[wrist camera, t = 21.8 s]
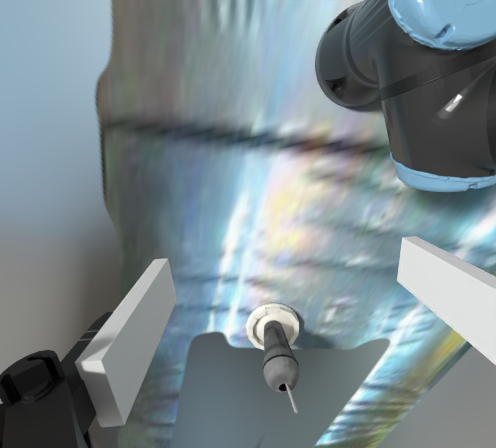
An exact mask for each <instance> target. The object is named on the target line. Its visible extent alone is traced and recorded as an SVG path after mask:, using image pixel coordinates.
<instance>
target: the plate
mask: <svg viewBox="0 0 496 448" xmlns="http://www.w3.org/2000/svg"><path fill="white" fill-rule="evenodd" d="M271 320H276V321H279V322H280V323H281V325H282V327H283V329H284V332H285V335H286V337H287V340H288V343H289V345H292V344H293V342H294V341H295V339H296V338H297V336H298V335H299V321H298V318H297V315H296V313H295V312H294V311H293V310H292V309H291V308H290V307H288V306H286V305H284V304H280V303H267V304H264V305H261V306H259V307H258V308H256V309H255V310H254V311H253V312H252V313H251V314H250V315H249V317H248V320H247V324H246V328H247V334H248V337H249V339H250V341H251V342H252V343H253V344H254V345H255V347H257V348H260V349H262V350H264V325H265V324H266V323H267V322H268V321H271Z"/></svg>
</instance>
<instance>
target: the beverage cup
mask: <svg viewBox="0 0 496 448" xmlns="http://www.w3.org/2000/svg"><path fill="white" fill-rule="evenodd" d="M263 373H264V376H265V379H266V381H267V383H268V385H269V386H270V387H271V388H272V389H273V390H275V391H277V392H279V393H287V392H288V393H289V396H290V399H291V402H292V405H293V409H294V412H295V413H297V412H298V411H297V408H296V405H295V402H294V400H293V396H292V394H291V390H292V389H293V388H294V387H295V386H296V384H297V381H298V378H299V366H298V362H297V361H296V359H295V357H294V355H293V353H292V351H291V348H290V345H289V343H288V340H287V337H286V335H285V332H284V329H283V327H282V325H281V323H280V322H279V321H276V320H271V321H268V322H267V323H266V324H265V325H264V363H263Z"/></svg>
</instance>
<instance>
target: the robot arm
mask: <svg viewBox="0 0 496 448" xmlns="http://www.w3.org/2000/svg"><path fill="white" fill-rule="evenodd" d="M315 69H316V76H317V79H318V82H319V85H320V87H321V89H322V90H323V92H324V93H325V95H326V96H327V97H328V98H329V99H330V100H332V101H333V102H335V103H337V104H339V105H341V106H345V107H359V106H363V105H366V104H368V103H371V102H373V101H375V100H377V99H379V98H380V97H381V103H382V108H383V113H384V118H385V123H386V128H387V133H388V138H389V143H390V148H391V152H390V156H391V159H392V161H393V162H394V165H395V169H396V173H397V176H398V178H399V179H400V180H401V181H402V182H403V183H404V184H405V185H407V186H409V187H412V188H415V189H419V190H424V191H432V192H459V191H466V190H467V189H468V188H475V189H479V188H484V187H488V186H491V185H494V184H496V0H364V1H362V2H360V3H357V4H355V5H353V6H350V7H349V8H347V9H346V10H344V11H343V12H342V13H340V14H339V15H338V16H337V17H336V18H335V19H334V20H333V21H332V23H331V24H330V25H329V27H328V28H327V30H326V31H325V33H324V34H323V36H322V38H321V40H320V43H319V45H318V48H317V53H316V60H315ZM397 281H398V282H399V283H400V284H401V285H403V286H404V287H405V288H406V289H407V290H408V291H410V292H411V293H412V294H413V295H414V296H415V297H417V298H418V299H419V300H420V301H421V302H422V303H424V304H425V305H426V306H427V307H428V308H429V309H431V310H432V311H433V312H434V313H435V314H436V315H438V316H439V317H440V318H441V319H442V320H444V321H445V322H446V323H447V324H448V325H449V326H451V327H452V328H453V329H454V330H455V331H456V332H458V333H459V334H460V335H461V336H462V337H463V338H465V339H466V340H467V341H468V342H469V343H470V344H472V345H473V346H474V347H475V348H476V349H478V350H479V351H480V352H481V353H482V354H483V355H485V356H486V357H487V358H488V359H489V360H490V361H492V362H493V363H494V364H495V365H496V277H495V276H493V275H491V274H489V273H487V272H485V271H483V270H481V269H479V268H477V267H475V266H474V265H472V264H470V263H468V262H466V261H464V260H462V259H460V258H458V257H456V256H454V255H452V254H450V253H448V252H446V251H444V250H442V249H440V248H438V247H436V246H434V245H432V244H430V243H428V242H426V241H424V240H422V239H420V238H418V237H416V236H415V237H403V238H402V245H401V253H400V261H399V269H398V277H397ZM176 301H177V299H176V295H175V290H174V285H173V280H172V275H171V271H170V266H169V261H168V258H167V259H156V260H154V261H153V262H152V263H151V265H150V266H149V267H148V268H147V270H146V271H145V272H144V274H143V275H142V276H141V277H140V279H139V280H138V281H137V283H136V284H135V285H134V287H133V288H132V289H131V290H130V292H129V293H128V294H127V296H126V297H125V298H124V299H123V301H122V302H121V303H120V305H119V306H118V308H117V309H116V310H115V311H114V312H107V313H105V314H104V315H103V316H101V317H100V318H99V319H97V320H96V321H95V322H94V323H93V324H92V325H91V326H90V328H89V329H88V330H87V333H85V334H84V335H83V336H82V337H81V338H80V341H78V342H77V343H76V344H75V345H74V347H73V348H72V349H71V350H70V352H69V353H68V354H67V355H66V356H65V357H64V359H63V360H62V361H61V362H60V361H59V359H58V356H57V354H56V353H55V352H54V351H51V350H44V351H38V352H36V353H33V354H30V355H28V356H26V357H24V358H23V359H20V360H18V361H17V362H15V363H14V364H12V365H11V366H10V367H8V368H7V369H6V370H5V371H4V372H3V373H2V374H1V375H0V399H1V401H2V402H3V404H0V448H94V446H93V441H92V437H91V433H90V431H89V427H90V425H91V423H92V421H93V419H94V417H95V416H97V419H98V421H99V424H100V426H101V427H110V426H121V425H125V422H126V420H127V418H128V415H129V413H130V410H131V408H132V406H133V403H134V401H135V399H136V396H137V394H138V391H139V389H140V387H141V384H142V382H143V379H144V377H145V375H146V372H147V370H148V368H149V365H150V363H151V360H152V358H153V356H154V353H155V351H156V349H157V346H158V344H159V341H160V339H161V337H162V334H163V332H164V329H165V327H166V325H167V322H168V320H169V318H170V315H171V313H172V310H173V308H174V306H175V303H176Z"/></svg>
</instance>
